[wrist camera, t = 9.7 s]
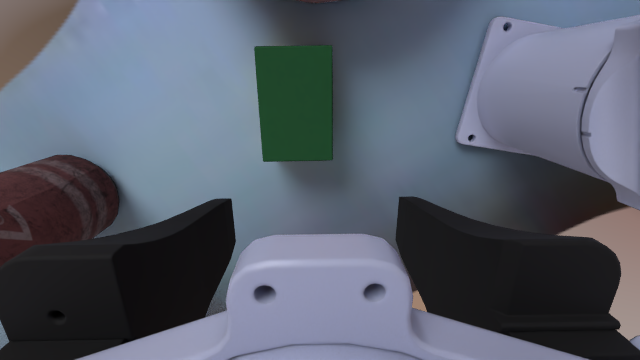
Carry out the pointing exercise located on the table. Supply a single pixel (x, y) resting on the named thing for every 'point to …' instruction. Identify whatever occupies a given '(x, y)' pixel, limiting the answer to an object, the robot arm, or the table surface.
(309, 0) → the bowl
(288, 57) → the sponge
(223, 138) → the table surface
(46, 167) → the can
